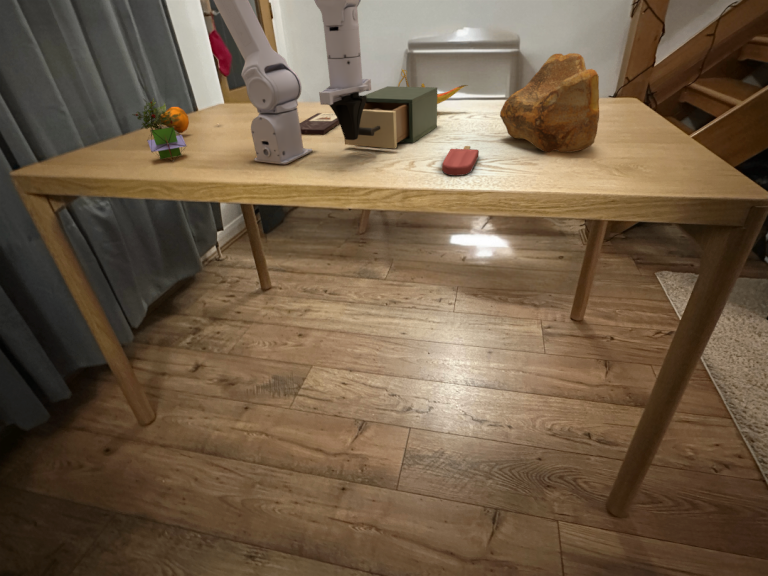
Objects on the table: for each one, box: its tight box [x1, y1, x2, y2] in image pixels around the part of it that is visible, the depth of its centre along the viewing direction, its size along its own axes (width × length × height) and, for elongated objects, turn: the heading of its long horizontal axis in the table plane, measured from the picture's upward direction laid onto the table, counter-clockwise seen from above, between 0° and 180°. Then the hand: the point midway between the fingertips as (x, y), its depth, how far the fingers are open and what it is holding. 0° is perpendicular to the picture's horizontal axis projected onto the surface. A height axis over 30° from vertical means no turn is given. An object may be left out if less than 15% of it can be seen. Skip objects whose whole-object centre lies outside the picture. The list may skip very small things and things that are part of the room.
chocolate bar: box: [299, 112, 340, 135], centre depth 109 cm, size 9×1×18 cm
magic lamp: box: [397, 69, 469, 105], centre depth 111 cm, size 7×18×11 cm, turn 82°
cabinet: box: [363, 86, 438, 144], centre depth 96 cm, size 15×13×9 cm
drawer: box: [343, 102, 409, 149], centre depth 88 cm, size 18×11×7 cm, turn 154°
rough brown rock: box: [499, 52, 600, 154], centre depth 83 cm, size 23×17×15 cm
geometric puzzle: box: [146, 125, 187, 162], centre depth 88 cm, size 7×7×8 cm
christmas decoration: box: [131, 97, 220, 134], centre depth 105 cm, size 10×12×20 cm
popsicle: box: [441, 145, 480, 176], centre depth 78 cm, size 5×2×15 cm
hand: (351, 138), depth 80 cm, fingers closed
